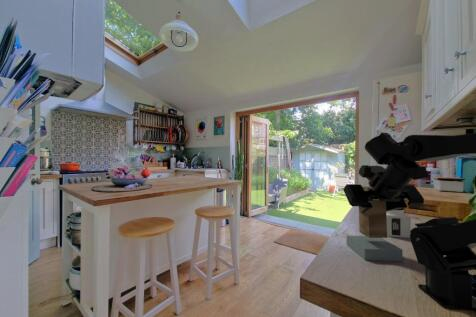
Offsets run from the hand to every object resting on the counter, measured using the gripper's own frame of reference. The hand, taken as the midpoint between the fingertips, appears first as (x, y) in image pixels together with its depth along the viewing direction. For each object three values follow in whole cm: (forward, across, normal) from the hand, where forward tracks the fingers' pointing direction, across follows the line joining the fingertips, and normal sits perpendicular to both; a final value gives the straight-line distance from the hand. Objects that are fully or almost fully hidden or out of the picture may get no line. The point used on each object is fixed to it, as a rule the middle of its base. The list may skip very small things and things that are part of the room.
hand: (369, 211), depth 62 cm
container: (+19, -18, -2) cm, 26 cm away
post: (+4, 0, +6) cm, 7 cm away
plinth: (+7, 0, +9) cm, 12 cm away
